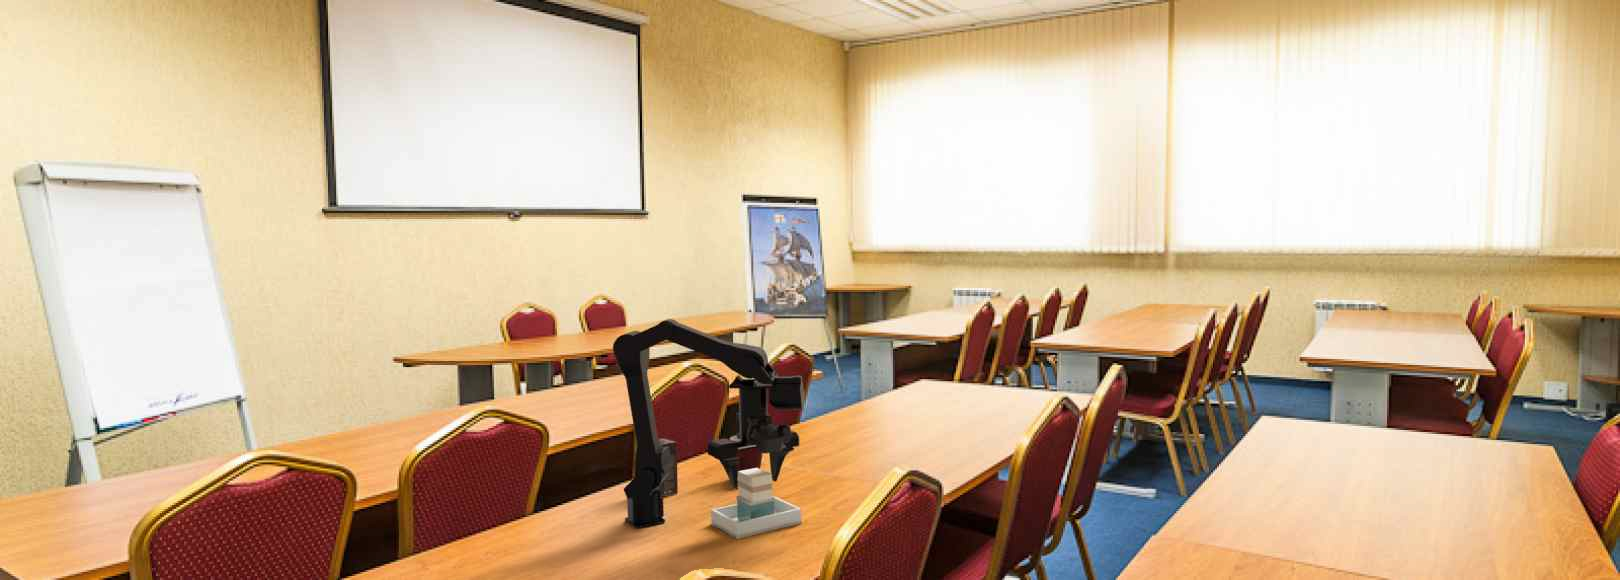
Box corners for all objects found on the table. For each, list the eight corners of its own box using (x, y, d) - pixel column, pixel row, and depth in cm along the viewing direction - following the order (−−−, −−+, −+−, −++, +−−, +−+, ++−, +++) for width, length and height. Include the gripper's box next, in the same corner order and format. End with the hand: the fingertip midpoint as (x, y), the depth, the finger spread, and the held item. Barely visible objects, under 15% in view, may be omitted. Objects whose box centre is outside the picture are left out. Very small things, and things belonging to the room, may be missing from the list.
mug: (756, 487, 207) (755, 444, 206) (723, 485, 208) (722, 444, 207) (767, 474, 217) (766, 434, 216) (735, 473, 218) (734, 433, 218)
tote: (737, 538, 172) (736, 523, 172) (711, 523, 181) (710, 509, 181) (801, 523, 180) (801, 508, 180) (773, 509, 189) (773, 496, 189)
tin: (737, 519, 181) (736, 495, 181) (760, 514, 185) (760, 490, 184) (750, 527, 177) (750, 502, 176) (775, 521, 180) (774, 497, 180)
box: (679, 493, 203) (677, 441, 202) (662, 497, 200) (660, 444, 199) (666, 487, 208) (664, 437, 207) (648, 491, 205) (647, 440, 204)
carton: (738, 495, 182) (737, 471, 181) (757, 491, 184) (756, 467, 184) (752, 502, 176) (752, 477, 176) (772, 498, 179) (771, 474, 179)
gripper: (732, 422, 167) (734, 503, 168) (813, 409, 178) (815, 486, 179) (705, 413, 177) (707, 489, 178) (784, 401, 187) (785, 474, 188)
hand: (755, 485), depth 180 cm, fingers open, 9 cm apart
